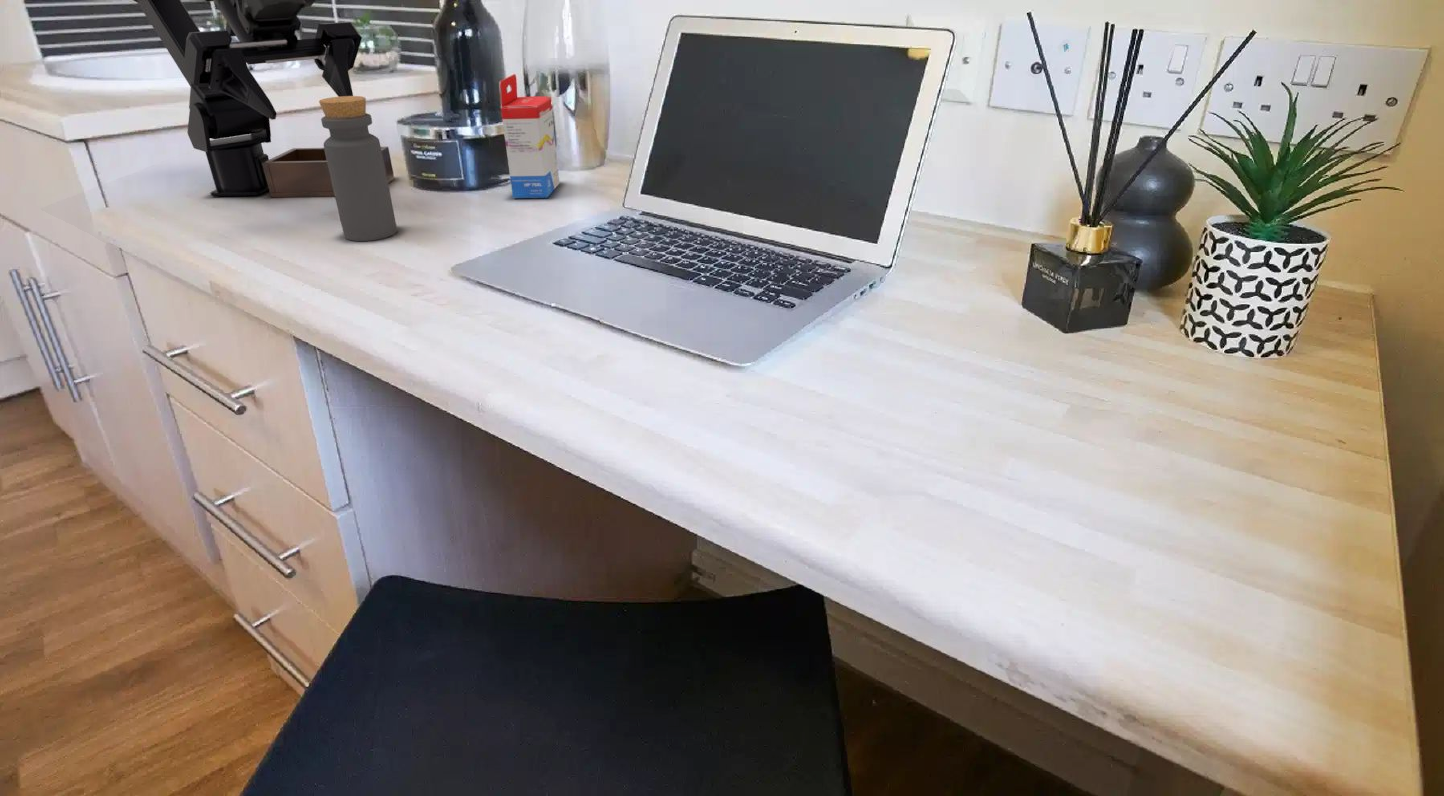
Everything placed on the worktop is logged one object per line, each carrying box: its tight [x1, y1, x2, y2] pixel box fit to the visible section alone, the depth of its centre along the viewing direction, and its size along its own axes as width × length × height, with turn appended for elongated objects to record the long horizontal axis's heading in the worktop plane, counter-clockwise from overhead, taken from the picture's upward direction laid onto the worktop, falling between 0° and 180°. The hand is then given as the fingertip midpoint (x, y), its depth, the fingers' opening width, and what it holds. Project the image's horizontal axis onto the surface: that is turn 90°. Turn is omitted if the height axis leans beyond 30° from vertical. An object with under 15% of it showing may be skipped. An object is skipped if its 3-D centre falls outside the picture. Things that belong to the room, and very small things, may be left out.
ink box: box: [498, 73, 560, 199], centre depth 112 cm, size 8×5×15 cm, turn 179°
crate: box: [262, 146, 395, 198], centre depth 117 cm, size 14×10×5 cm
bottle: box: [318, 95, 398, 242], centre depth 95 cm, size 6×6×15 cm
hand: (314, 111), depth 96 cm, fingers open, 9 cm apart
